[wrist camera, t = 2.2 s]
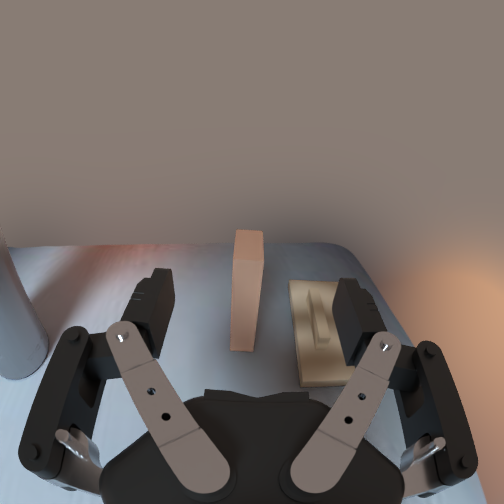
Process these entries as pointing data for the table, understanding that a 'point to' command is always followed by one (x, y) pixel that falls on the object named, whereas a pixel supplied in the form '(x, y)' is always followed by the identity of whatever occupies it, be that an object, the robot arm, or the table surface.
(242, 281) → the block
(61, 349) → the robot arm
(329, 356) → the plate
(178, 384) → the table surface
